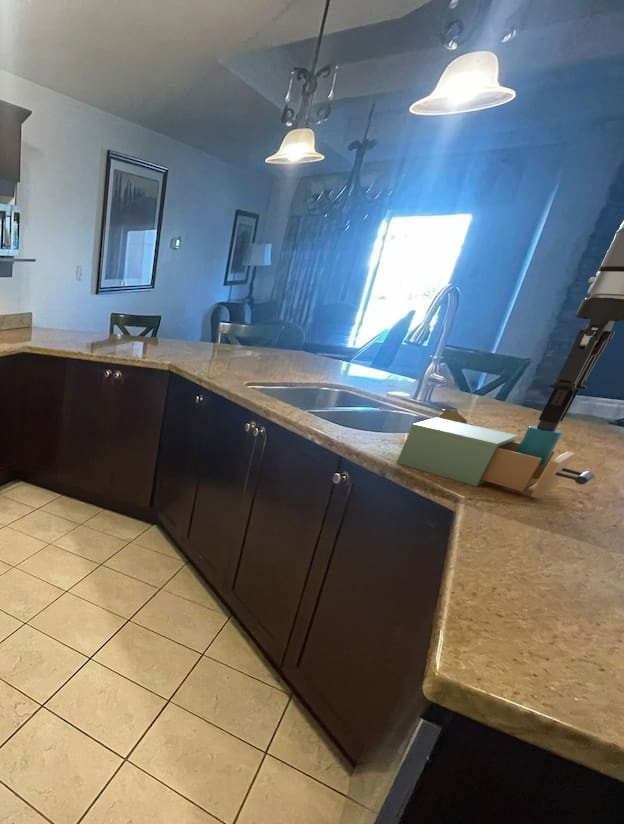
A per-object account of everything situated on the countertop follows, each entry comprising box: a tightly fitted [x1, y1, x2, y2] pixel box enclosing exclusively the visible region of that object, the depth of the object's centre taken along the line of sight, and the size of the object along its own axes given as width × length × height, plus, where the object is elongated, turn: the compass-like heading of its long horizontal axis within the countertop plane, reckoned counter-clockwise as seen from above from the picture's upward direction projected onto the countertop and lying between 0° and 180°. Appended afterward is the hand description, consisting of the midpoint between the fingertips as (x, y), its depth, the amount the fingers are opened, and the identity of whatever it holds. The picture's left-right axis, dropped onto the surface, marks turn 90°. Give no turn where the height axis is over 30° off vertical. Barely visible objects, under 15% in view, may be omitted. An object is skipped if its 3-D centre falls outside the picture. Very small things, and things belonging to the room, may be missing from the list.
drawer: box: [481, 441, 595, 499], centre depth 104 cm, size 18×13×8 cm
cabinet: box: [396, 416, 519, 487], centre depth 113 cm, size 15×14×10 cm
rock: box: [438, 408, 468, 424], centre depth 128 cm, size 11×9×10 cm
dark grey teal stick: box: [516, 397, 573, 465], centre depth 100 cm, size 5×5×14 cm
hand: (550, 420), depth 99 cm, fingers closed on dark grey teal stick, 3 cm apart
